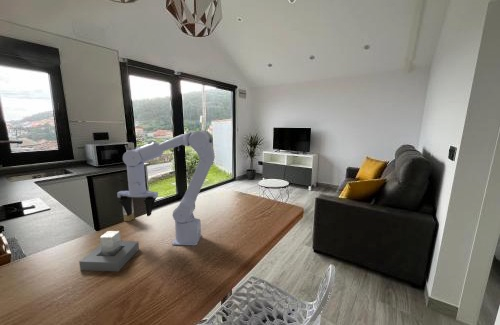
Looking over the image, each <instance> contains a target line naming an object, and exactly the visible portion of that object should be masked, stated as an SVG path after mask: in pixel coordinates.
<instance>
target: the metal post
mask: <svg viewBox="0 0 500 325" xmlns="http://www.w3.org/2000/svg"><path fill="white" fill-rule="evenodd" d="M120 232H121V231H120V230H107V231H106V232H104V233H103V234H101V236H99V240H100V241H99V242H100V245H101V252H102V256H115V255H116V254H117V253H118V252H120V251H121V241H122V240H121V233H120Z"/></svg>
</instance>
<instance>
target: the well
mask: <svg viewBox="0 0 500 325" xmlns="http://www.w3.org/2000/svg"><path fill="white" fill-rule="evenodd" d="M139 243H140V242H139V241H135V240H133V241H132V240H131V241H130V240H129V241H128V240H121V251H120V252H118V253H117V254H116V255H115V256H102V252H101V244H99V245H98V246H97V247H95V249H93V250H92V251H90V252H89V253H88V254H86V255H85V256H84V257H83V258H82V259H80V260H79V262H78V263H79V269H80V270H79V271H95V272H96V271H97V272H98V271H99V272H120V271H121V269H122V268H123V267H124V266H125V265H126V264H127V263H128V262H129V261H130V260H131V258H132V257H133V256H134V255H135V254H136V253H137V251H139V250H140V248H139V245H140V244H139Z"/></svg>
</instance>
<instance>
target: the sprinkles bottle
mask: <svg viewBox="0 0 500 325" xmlns="http://www.w3.org/2000/svg"><path fill="white" fill-rule="evenodd" d="M133 201H134V200H133V198H132V214H131V215H129V216H127V213H126V211H125V209H124V207H123V206H122V214H123V221H124V222H131V221H133V220H134V219H135V211H134V202H133ZM132 219H133V220H132Z"/></svg>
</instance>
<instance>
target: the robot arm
mask: <svg viewBox="0 0 500 325" xmlns="http://www.w3.org/2000/svg"><path fill="white" fill-rule="evenodd" d="M179 146H184V147H191V148H192V149H193V150H194V151H195V153H196V154H197V156H198V157H199V161H198V164H197V166H196V168H195V171H194V172H193V175H192V176H191V179H190V181H189V184H188V186H187V189H186V191H185V193H184V195H183V196H182V198H181V200H180V202H179V204H178V205H177V207H176V208H175V209H174V210H173V212H172V218H173V220H174V222H175V225H174V226H175V239H173V241H172V243H171V244H172V245H173V246H174V245H175V246H197V245H198V243H199V241H200V240H201V237H202V226H201V225H202V222H201V219H200V218H196V217H195V215H194V212H195V209H196V201H197V198H198V196H199V194H200V191H201V189H202V187H203V185H204V182H205V181H206V179H207V176H208V174H209V171H210V170H211V167H212V166H213V163H214V161H215V158H216V157H215V151H214V150H215V149H214V140H213V138H212V136H211V135H210V133H209V132H208V131H206V130H198V131H192V132H187V133H184V134H183V133H182V134H179V135H177V136H174V137H173V138H170V139H167V140H165V141H162V142H161V143H160V142H158V141H153V140H151V141H147V144H144V145H141V146H139V145H138V146H136V147H135V149H128V150H127V151H126V152H124V153H123V155H122V162H123V163H124V164H125V165H126V172H127V174H126V175H127V182H128V183H127V185H128V190H120V191H118V192H117V193H116V194H117V195H116V196H117V198H118V202H119V204H120V205H121V206H122V208H123V207H124V209H125V211H126V213H127V216H129V215H131V214H132V199H133V198H146V199H144V200H143V201H144V204H145V208H146V217H150V216H151V215H152V213H153V212H152V211H153V208H154V205H155V202H156V200H157V198H158V197H159V192H158V191H152V190H147V187H146V177H145V176H146V174H145V172H146V171H145V162H146V163H147V162H149V161H151V160H155V159H156V158H157V159H158V158H161V157H162V156H163V154H164V152H165V151H167V150H170V149H174V148H177V147H179Z"/></svg>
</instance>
